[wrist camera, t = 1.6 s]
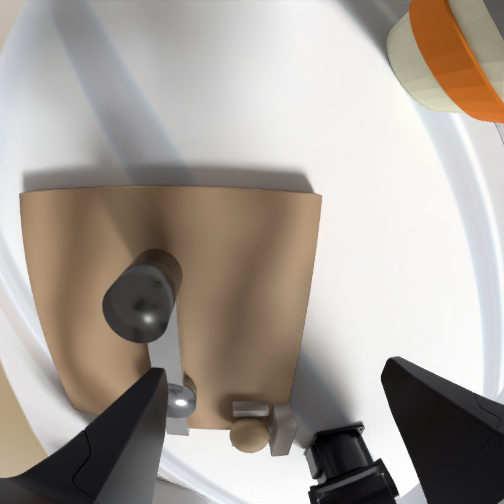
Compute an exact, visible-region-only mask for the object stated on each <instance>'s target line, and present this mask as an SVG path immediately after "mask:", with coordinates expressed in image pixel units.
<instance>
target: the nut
mask: <svg viewBox="0 0 504 504" xmlns="http://www.w3.org/2000/svg"><path fill="white" fill-rule="evenodd" d="M269 438H270V432H269V429H268V426H267V425H266V424H265V423H264V422H263V421H262V420H260V419H258V418H255V417H245V418H242V419H239V420H238V421H236V422H235V423H234V424H233V426H232V427H231V430H230V440H231V442H232V444H233V445H234V446H235V447H236V448H237V449H238V450H240V451H242V452H246V453H254V452H257V451H260V450H261V449H263V448H264V447H265V446H266V445H267V443H268V441H269Z"/></svg>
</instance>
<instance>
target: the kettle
mask: <svg viewBox="0 0 504 504" xmlns="http://www.w3.org/2000/svg"><path fill="white" fill-rule="evenodd" d="M152 504H212V503H211V502H210V500H209V499H208V498H206V497H205V496H203V495H201V494H199V493H197V492H195V491H192V490H190V489H187V488H184V487H181V486H178V485H175V484H172V483H168V482H165V481H161V480H157V479H156V483H155V489H154V495H153V501H152Z"/></svg>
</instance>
